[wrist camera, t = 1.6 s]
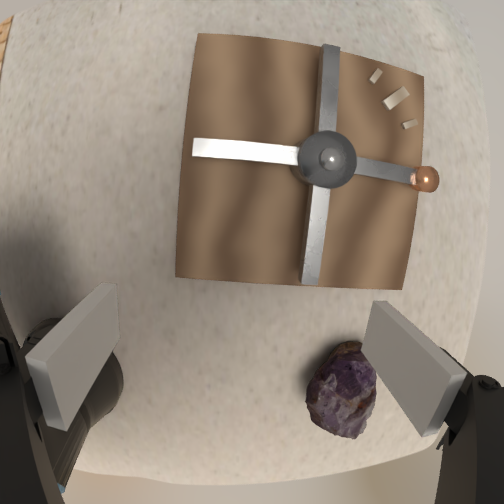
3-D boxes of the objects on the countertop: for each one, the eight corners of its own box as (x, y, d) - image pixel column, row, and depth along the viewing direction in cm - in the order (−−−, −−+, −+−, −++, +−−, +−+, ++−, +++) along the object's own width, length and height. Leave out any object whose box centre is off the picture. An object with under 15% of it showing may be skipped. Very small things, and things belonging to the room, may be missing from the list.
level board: (177, 272, 34) (174, 279, 32) (199, 38, 28) (197, 30, 26) (396, 285, 36) (404, 291, 34) (417, 79, 30) (426, 75, 28)
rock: (366, 332, 39) (293, 345, 38) (397, 356, 30) (310, 375, 30) (363, 405, 40) (296, 420, 39) (388, 437, 31) (311, 457, 31)
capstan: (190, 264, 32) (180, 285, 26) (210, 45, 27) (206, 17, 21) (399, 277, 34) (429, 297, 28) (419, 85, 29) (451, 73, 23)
